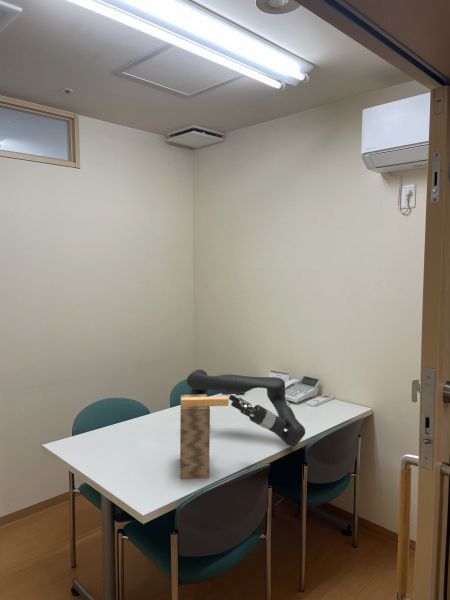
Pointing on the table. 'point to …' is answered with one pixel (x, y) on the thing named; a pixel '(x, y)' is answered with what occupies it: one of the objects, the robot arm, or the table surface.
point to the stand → (194, 441)
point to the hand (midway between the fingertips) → (230, 399)
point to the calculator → (231, 393)
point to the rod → (203, 401)
